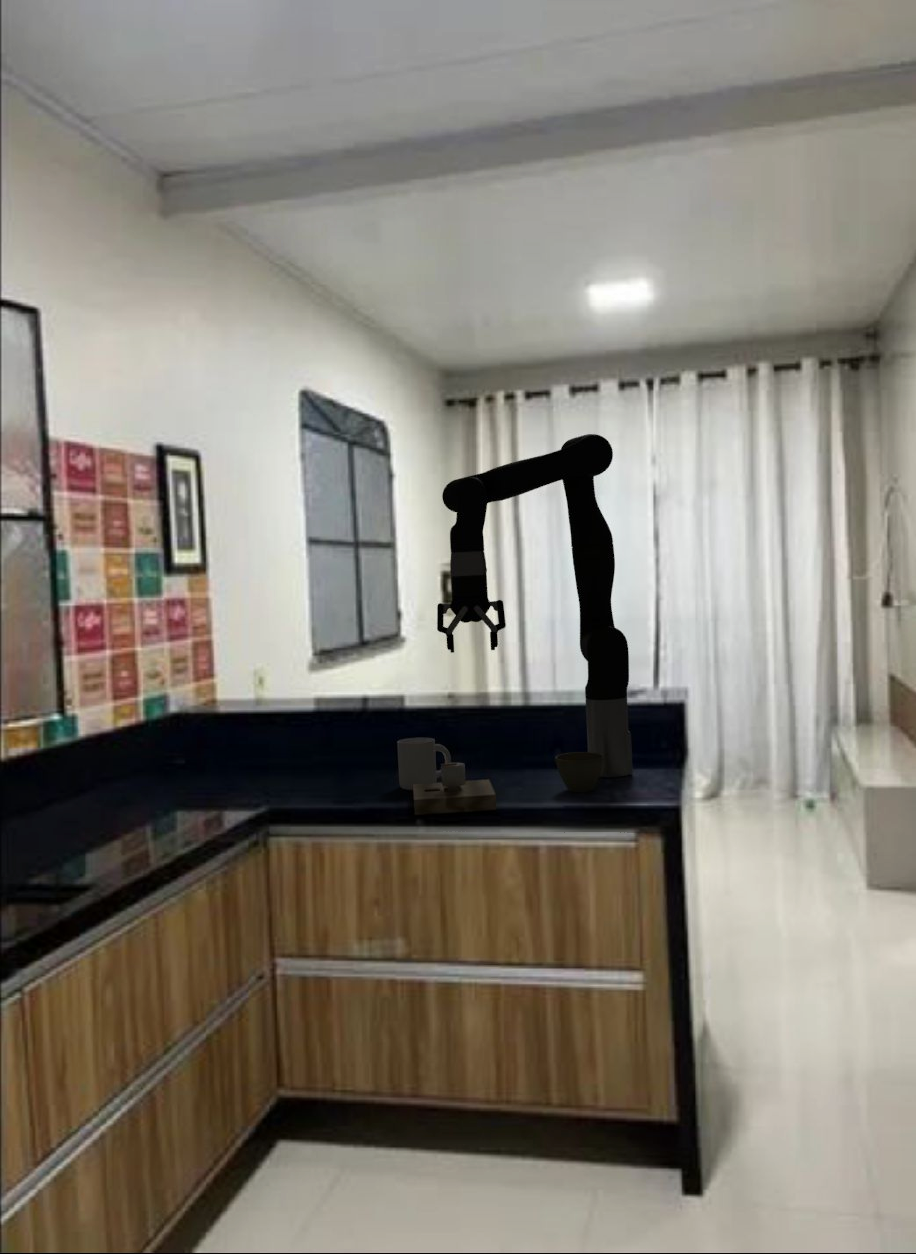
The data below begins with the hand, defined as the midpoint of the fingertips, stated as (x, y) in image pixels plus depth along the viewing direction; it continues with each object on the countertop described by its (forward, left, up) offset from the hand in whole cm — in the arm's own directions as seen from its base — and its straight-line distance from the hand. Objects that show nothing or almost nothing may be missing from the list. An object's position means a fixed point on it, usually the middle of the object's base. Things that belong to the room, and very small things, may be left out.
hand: (472, 651), depth 230 cm
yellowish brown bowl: (-21, +3, -30) cm, 37 cm away
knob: (+6, +9, -30) cm, 32 cm away
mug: (+11, -12, -30) cm, 34 cm away
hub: (+6, +9, -30) cm, 32 cm away
